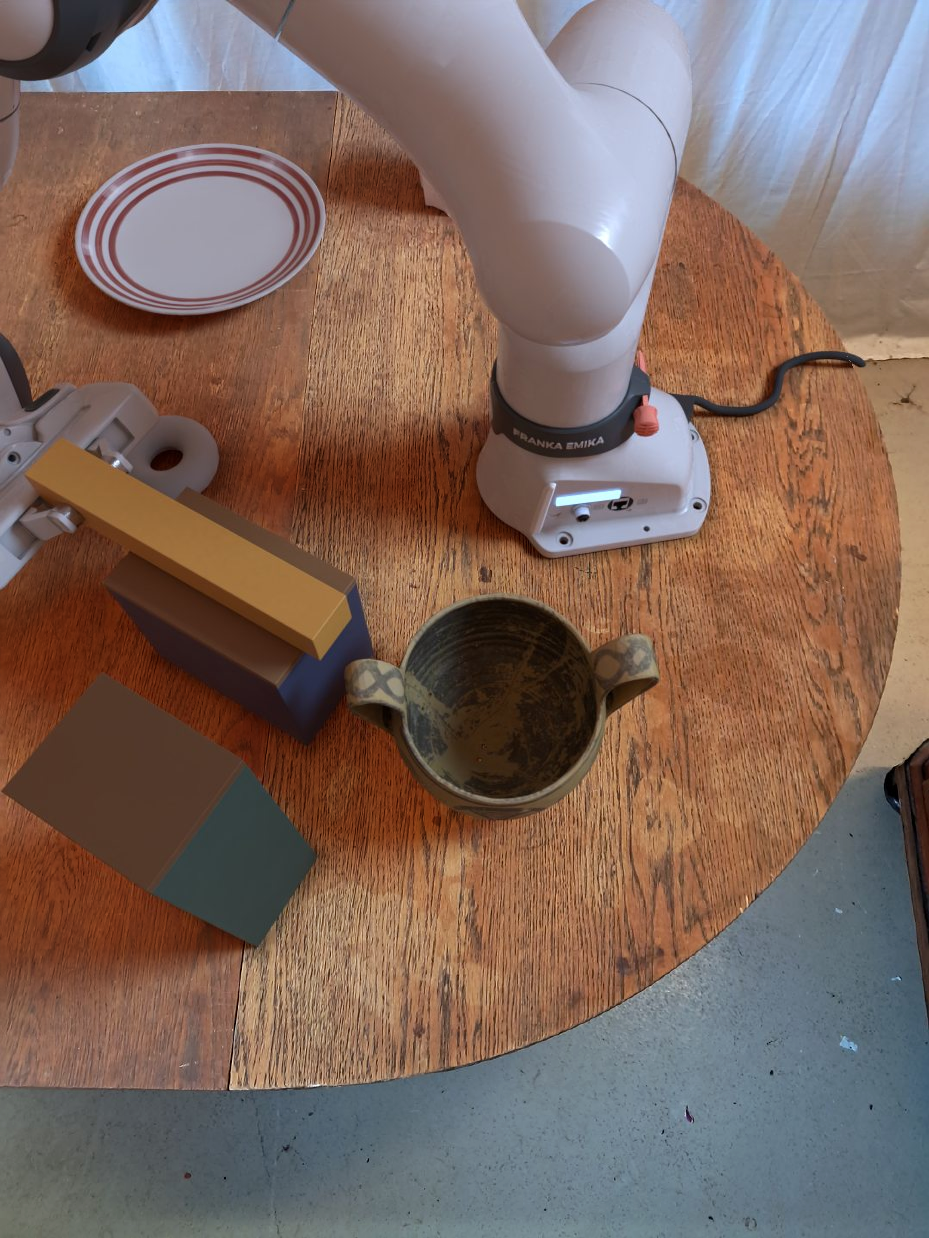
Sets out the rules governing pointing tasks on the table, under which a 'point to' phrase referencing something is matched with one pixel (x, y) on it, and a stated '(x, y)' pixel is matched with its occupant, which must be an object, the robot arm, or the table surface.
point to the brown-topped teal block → (165, 810)
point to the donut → (194, 464)
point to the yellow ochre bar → (193, 548)
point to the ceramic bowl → (500, 703)
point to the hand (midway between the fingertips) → (97, 492)
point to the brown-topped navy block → (243, 632)
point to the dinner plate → (200, 229)
